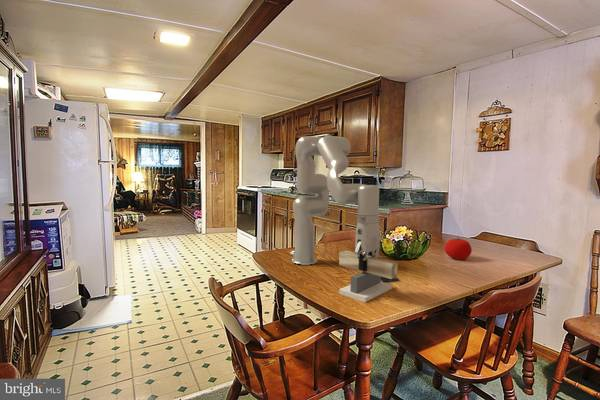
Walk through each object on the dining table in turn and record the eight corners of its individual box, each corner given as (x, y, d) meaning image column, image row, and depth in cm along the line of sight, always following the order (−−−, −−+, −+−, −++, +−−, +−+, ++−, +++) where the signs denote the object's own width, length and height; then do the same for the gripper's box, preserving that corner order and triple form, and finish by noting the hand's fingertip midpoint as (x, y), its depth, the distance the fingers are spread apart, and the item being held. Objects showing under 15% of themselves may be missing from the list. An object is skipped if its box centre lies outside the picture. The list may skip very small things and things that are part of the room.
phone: (379, 268, 142) (399, 279, 128) (379, 270, 142) (399, 281, 128) (363, 270, 140) (382, 281, 125) (363, 272, 140) (382, 283, 125)
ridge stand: (339, 293, 114) (339, 274, 114) (366, 281, 127) (367, 264, 126) (365, 302, 107) (365, 282, 106) (391, 288, 119) (392, 270, 119)
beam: (391, 279, 107) (391, 264, 107) (339, 265, 122) (339, 252, 122) (397, 276, 110) (397, 262, 109) (345, 262, 125) (345, 250, 125)
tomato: (475, 260, 158) (477, 239, 158) (457, 262, 154) (458, 241, 153) (457, 255, 169) (458, 235, 168) (439, 257, 164) (440, 237, 163)
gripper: (363, 223, 106) (362, 276, 108) (388, 218, 118) (387, 266, 119) (345, 220, 111) (344, 271, 113) (371, 216, 123) (370, 262, 125)
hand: (366, 268), depth 116 cm, fingers closed on beam, 4 cm apart
